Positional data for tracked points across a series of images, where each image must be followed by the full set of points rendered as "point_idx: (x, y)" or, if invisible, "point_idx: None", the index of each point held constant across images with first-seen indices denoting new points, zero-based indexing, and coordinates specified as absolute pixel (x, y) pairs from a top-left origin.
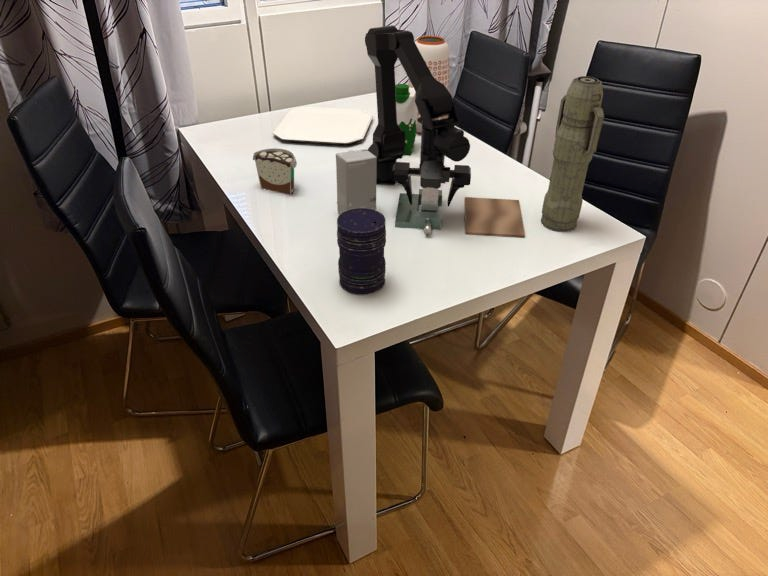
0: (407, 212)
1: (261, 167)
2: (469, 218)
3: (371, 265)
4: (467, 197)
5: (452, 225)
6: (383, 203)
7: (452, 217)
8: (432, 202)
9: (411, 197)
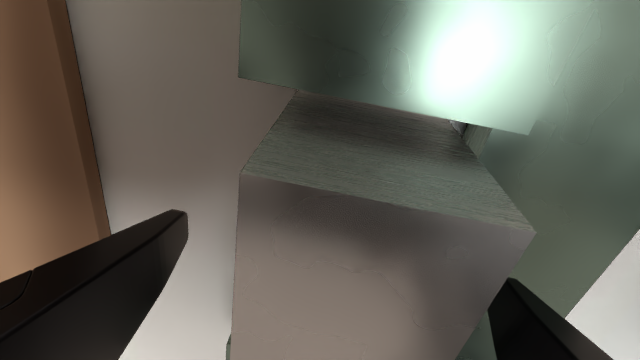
0: (552, 195)
1: None
2: (34, 88)
3: None
4: None
5: (172, 13)
6: (603, 344)
7: (179, 143)
8: (337, 174)
9: (556, 339)
